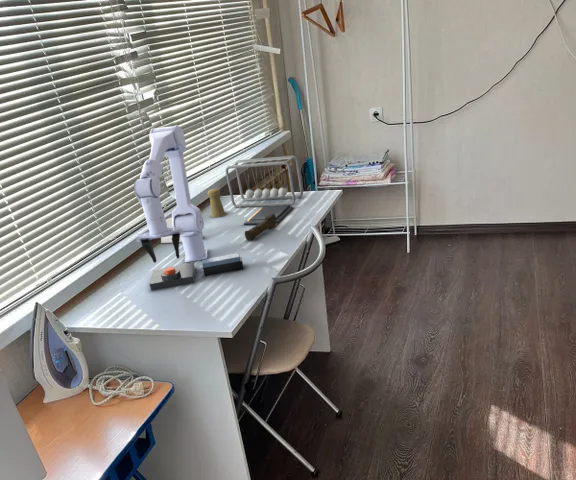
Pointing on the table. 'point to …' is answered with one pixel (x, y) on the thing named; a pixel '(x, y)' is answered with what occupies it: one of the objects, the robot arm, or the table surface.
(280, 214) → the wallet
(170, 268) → the button
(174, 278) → the control box
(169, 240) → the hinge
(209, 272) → the black and grey bar
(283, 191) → the newton's cradle
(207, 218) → the table surface
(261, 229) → the hand tool
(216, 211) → the cork
